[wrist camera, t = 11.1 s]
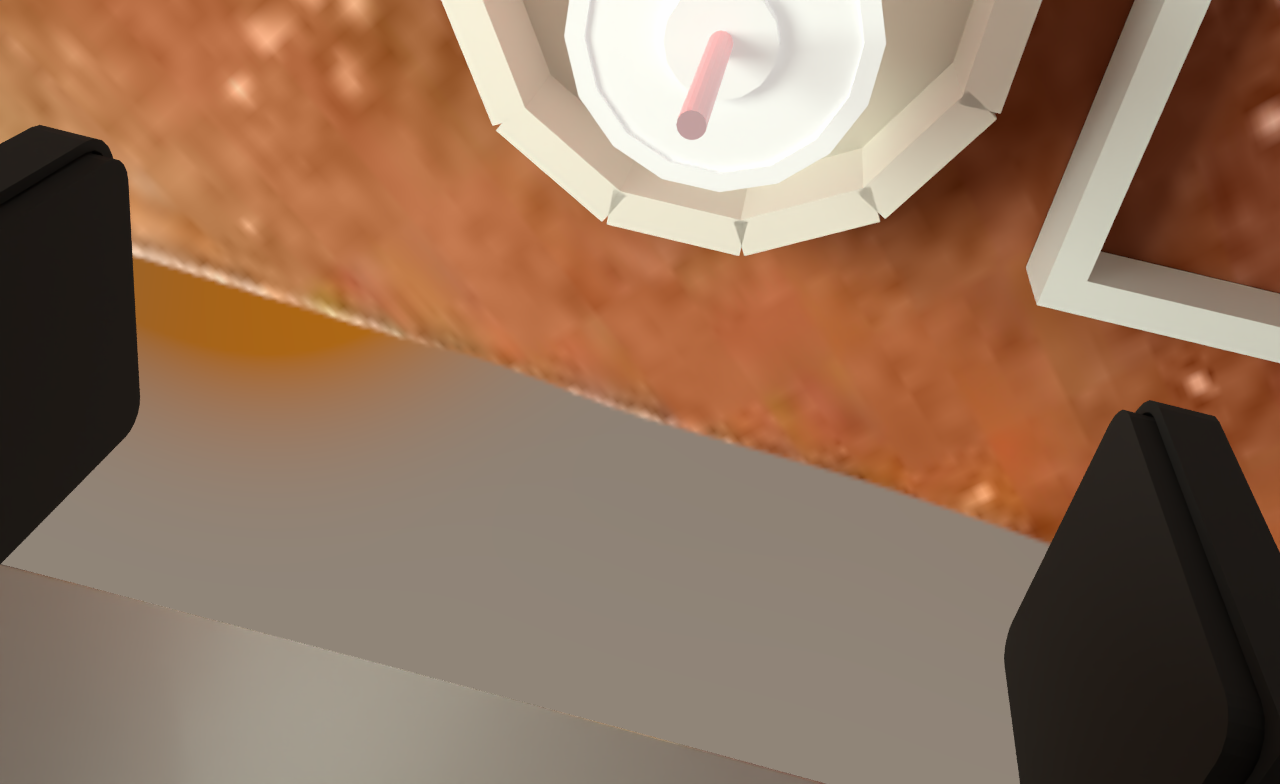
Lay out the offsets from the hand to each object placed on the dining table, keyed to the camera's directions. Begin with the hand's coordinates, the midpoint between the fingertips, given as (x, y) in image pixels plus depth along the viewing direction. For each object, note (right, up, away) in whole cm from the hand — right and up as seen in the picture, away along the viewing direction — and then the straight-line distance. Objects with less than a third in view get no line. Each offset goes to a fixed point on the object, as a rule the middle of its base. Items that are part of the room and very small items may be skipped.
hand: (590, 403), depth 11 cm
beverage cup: (+3, +12, +19) cm, 23 cm away
